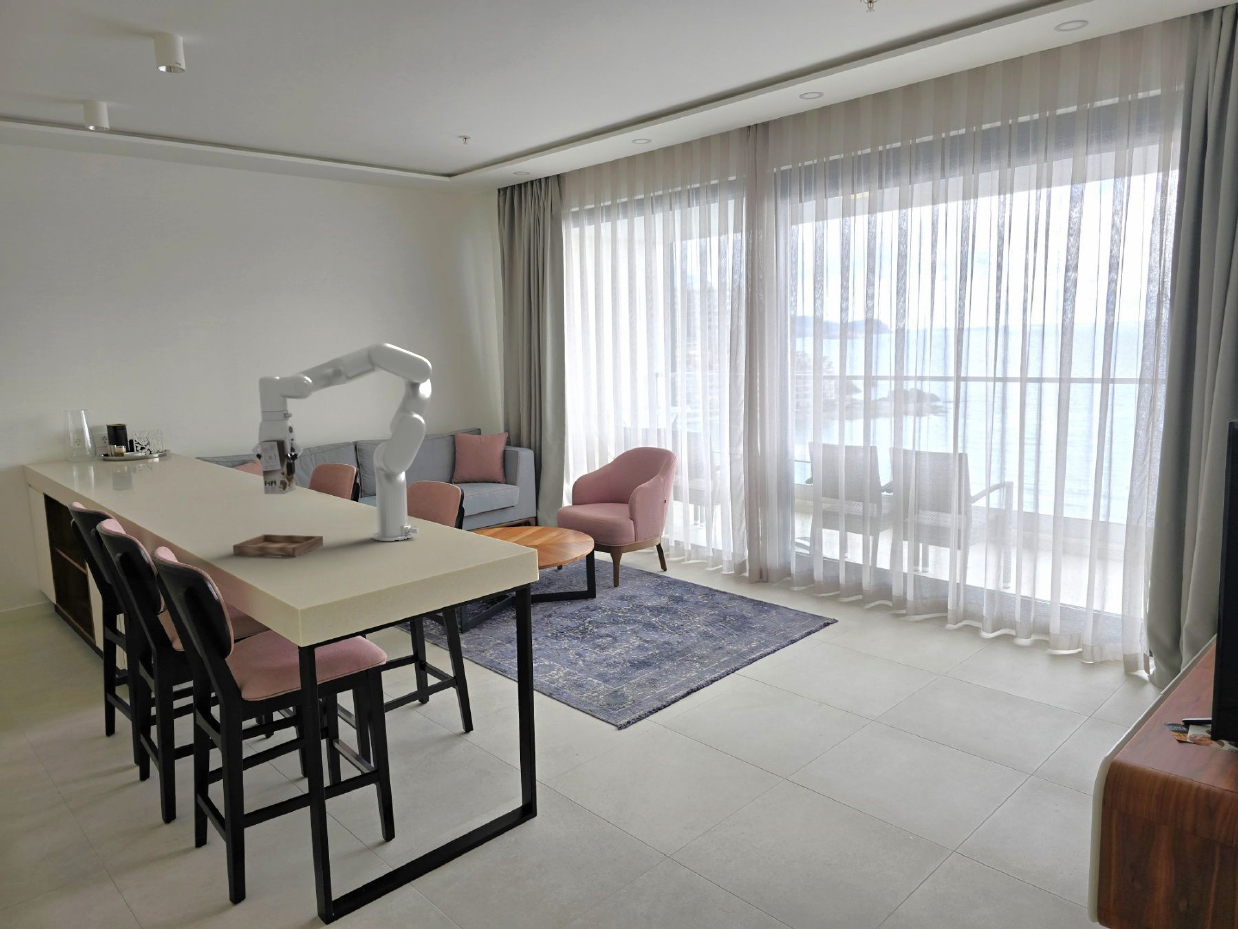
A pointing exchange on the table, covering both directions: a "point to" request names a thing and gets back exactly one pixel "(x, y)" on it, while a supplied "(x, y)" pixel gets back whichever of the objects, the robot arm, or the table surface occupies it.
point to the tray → (278, 545)
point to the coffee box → (276, 468)
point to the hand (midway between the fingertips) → (279, 474)
